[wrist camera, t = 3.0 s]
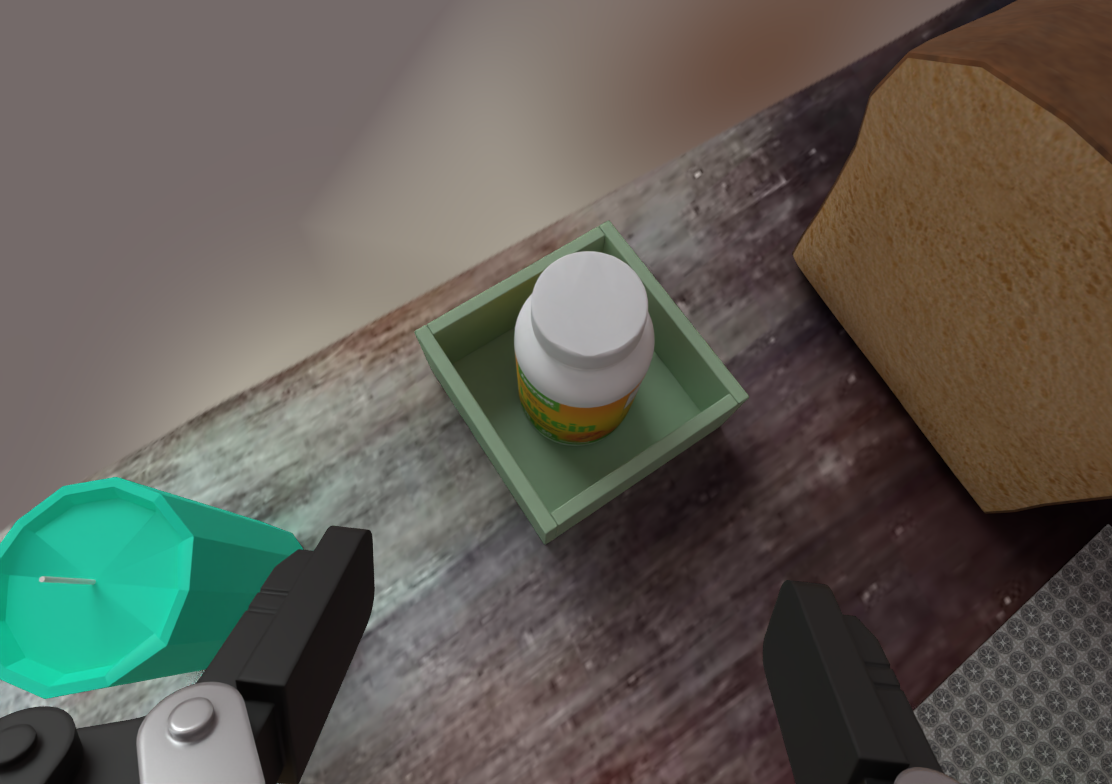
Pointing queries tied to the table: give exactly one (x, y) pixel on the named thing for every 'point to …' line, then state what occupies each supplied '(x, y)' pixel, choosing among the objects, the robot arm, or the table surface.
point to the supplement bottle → (582, 347)
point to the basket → (591, 470)
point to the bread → (987, 249)
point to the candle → (125, 586)
